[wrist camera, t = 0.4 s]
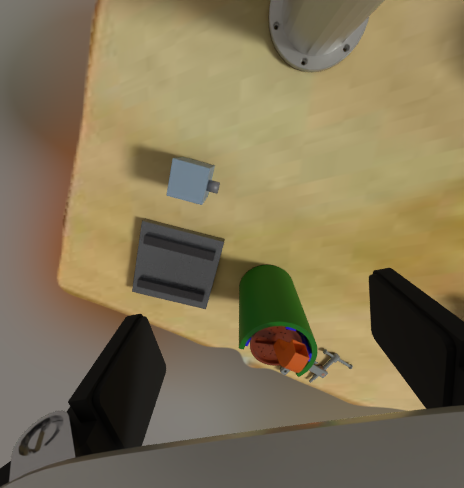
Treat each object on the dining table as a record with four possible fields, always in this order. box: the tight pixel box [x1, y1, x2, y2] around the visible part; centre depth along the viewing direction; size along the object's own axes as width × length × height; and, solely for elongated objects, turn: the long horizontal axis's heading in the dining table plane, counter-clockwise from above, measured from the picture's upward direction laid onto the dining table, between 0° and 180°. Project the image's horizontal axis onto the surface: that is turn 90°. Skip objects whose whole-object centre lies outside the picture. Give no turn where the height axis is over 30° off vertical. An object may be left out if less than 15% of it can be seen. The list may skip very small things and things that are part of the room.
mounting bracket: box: [132, 219, 225, 309], centre depth 44 cm, size 14×14×2 cm
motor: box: [239, 265, 317, 377], centre depth 37 cm, size 10×9×20 cm
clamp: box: [280, 349, 353, 383], centre depth 52 cm, size 15×2×10 cm
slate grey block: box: [167, 157, 220, 205], centre depth 37 cm, size 5×7×7 cm
